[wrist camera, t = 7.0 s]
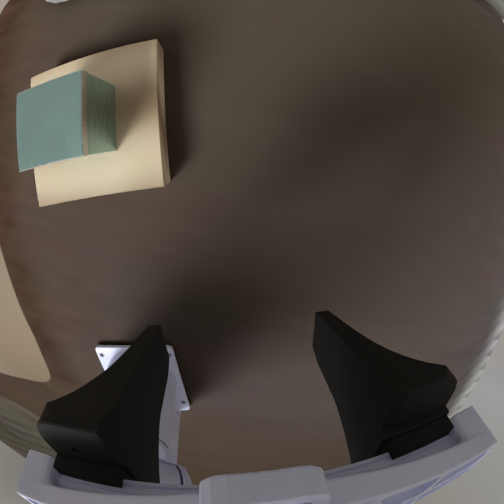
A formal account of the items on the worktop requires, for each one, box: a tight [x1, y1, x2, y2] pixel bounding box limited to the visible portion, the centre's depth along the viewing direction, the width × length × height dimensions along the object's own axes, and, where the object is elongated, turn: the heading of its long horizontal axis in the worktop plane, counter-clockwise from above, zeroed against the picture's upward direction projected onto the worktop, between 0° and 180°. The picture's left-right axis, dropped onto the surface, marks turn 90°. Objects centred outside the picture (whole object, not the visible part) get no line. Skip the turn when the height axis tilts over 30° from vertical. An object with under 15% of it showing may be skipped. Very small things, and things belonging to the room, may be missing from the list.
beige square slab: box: [31, 39, 170, 207], centre depth 16 cm, size 10×10×3 cm
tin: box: [17, 69, 117, 172], centre depth 13 cm, size 4×4×5 cm
